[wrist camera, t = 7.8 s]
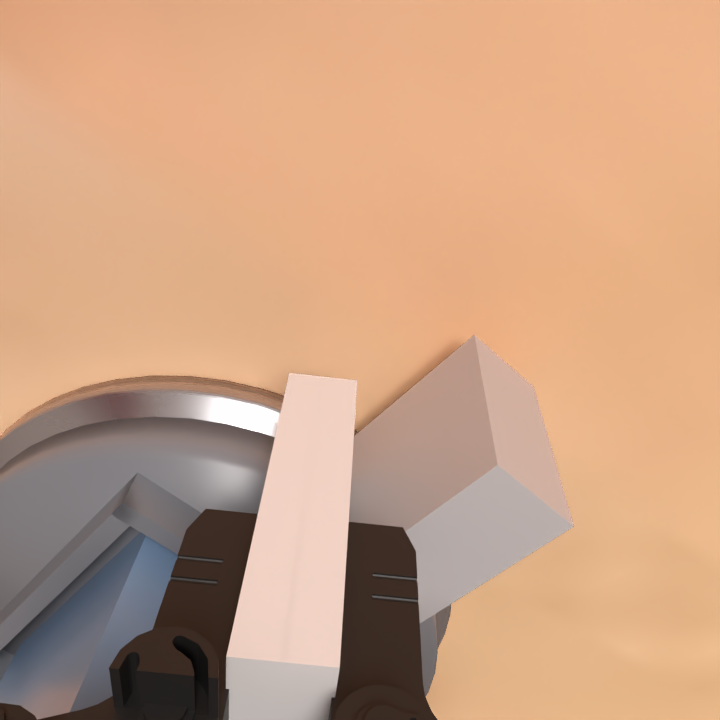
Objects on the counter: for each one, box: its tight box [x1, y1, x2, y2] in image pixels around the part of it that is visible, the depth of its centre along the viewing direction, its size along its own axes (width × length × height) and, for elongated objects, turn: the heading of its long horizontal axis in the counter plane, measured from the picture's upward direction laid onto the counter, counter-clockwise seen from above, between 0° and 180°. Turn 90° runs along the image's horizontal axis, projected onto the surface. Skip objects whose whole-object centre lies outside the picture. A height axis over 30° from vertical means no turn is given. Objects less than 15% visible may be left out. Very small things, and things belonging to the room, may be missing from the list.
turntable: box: [0, 335, 574, 697], centre depth 18 cm, size 14×19×4 cm
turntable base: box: [0, 376, 451, 649], centre depth 21 cm, size 15×15×1 cm
